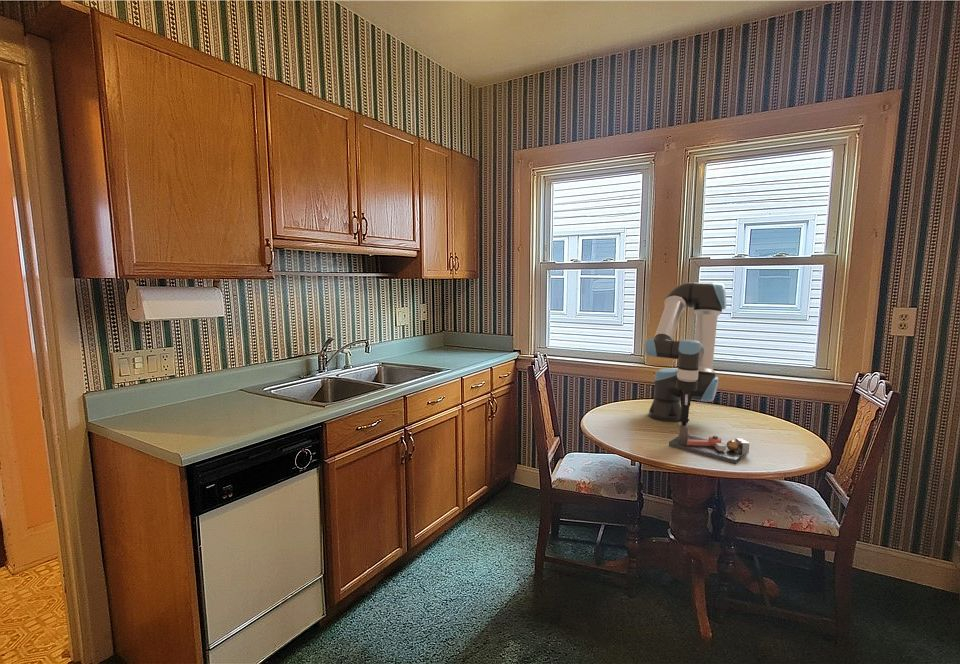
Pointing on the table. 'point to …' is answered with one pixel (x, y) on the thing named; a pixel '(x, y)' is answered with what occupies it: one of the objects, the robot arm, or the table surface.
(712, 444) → the lever
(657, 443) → the table surface
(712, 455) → the base
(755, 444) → the table surface
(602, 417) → the table surface
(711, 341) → the robot arm
